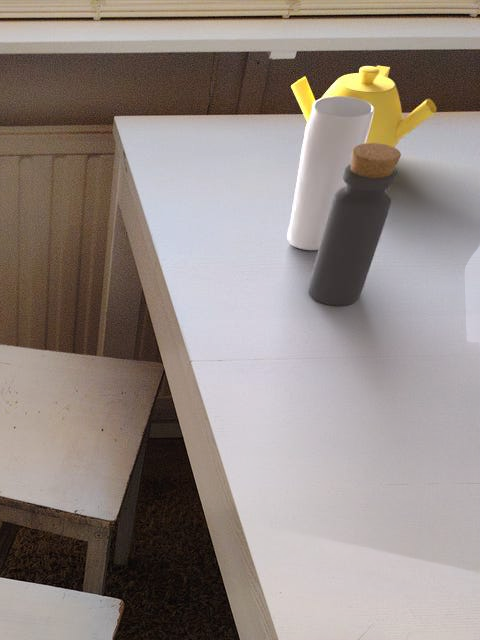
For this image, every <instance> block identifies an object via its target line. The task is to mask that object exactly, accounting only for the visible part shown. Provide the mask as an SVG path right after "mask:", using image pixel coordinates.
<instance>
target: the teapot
mask: <svg viewBox="0 0 480 640" xmlns="http://www.w3.org/2000/svg"><path fill="white" fill-rule="evenodd" d="M390 69H391V66H384V65H376V66H373V65H372V66H371V65H365V66H361V67H360V68H359V71H358V72H355V73H348V74H344V75H342V76H340V77H338V78H337V79H336V80H335V82H333V84H332V85H330V87H329V88H328V89H327V90H326V92H325V93H324V94H323V95H322V97H321V98H325V97H332V96H346V97H353V98H358V99H362V100H364V101H367V102H369V103H370V104H371V105H373V107H374V114H373V118H372V122H371V126H370V130H369V134H368V137H367V141H366V143H379V144H385V145H389V146H392V147H394V148H396V146H397V145H398V143H399V141H400V140H401V139H403V138H404V137H405V136H407V135H408V134H409V133H411V132H412V131H413V130H415V129H416V128H417V127H418V126H420V125H421V124H423V123H424V122H426V121H427V120H428V119H430V117H432V116H433V115H434V114H436V113H437V106H436V104H435V103H434V101H433V100H432V99H430V98H426V99H425V100H424V101H423V102H422V103H421V104H419V105H418V106H417V107H416V108H415V109H413V110H412V111H411V112H410V113H408V114H407V115H406V116H405V117H403V110H402V104H401V99H400V95H399V92H398V88H397V86H396V83H395V82H394V80H392V79H391V78H389V73H390ZM290 87H291V89H292V91H293V94H294V96H295V98H296V101H297V102H298V105H299V107H300V110H301V112H302V113H303V116H304V119H305V120H306V126H305V129H304V133H305V132H306V128H307V124H308V120H309V117H310V113H311V110H312V106H313V104H314V102H316V101H317V100H316V99H315V96H314V94H313V92H312V89H311V87H310V84H309V82H308V79H307V76H303V77H301V78H300V79H298V80H297V81H296V82H294V83H293V84H291V86H290Z"/></svg>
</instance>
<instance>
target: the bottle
mask: <svg viewBox="0 0 480 640" xmlns="http://www.w3.org/2000/svg"><path fill="white" fill-rule="evenodd" d="M401 156H402V153H401V151H400V150H399V149H398V148H396V147H392V146H389V145H385V144H379V143H366V144H360V145H358V146H356V147H354V148H353V150H352V159H351V164H349V165H348V166H347V167H346V168H345V171H344V174H343V180H344V181H345V183H347V185H346V186H345V187H343V188H341V189H339V190H338V191H337V192H336V193H335V195H334V198H333V201H332V204H331V208H330V211H329V215H328V218H327V222H326V225H325V229H324V232H323V236H322V240H321V243H320V247H319V250H317V255H316V258H315V261H314V266H313V268H312V272H311V276H310V280H309V284H308V290H307V292H308V294H309V295H310V297H311V298H313V299H314V300H315V301H317V302H319V303H321V304H324V305H329V306H336V307H337V306H339V307H340V306H348V305H352V304H354V303H357V301H358V300H359V299H360V297H361V295H362V292H363V289H364V287H365V283H366V280H367V276H368V275H369V273H370V268H371V266H372V262H373V261H374V256H375V253H376V250H377V247H378V244H379V241H380V238H381V235H382V233H383V228H384V227H385V223H386V220H387V217H388V214H389V211H390V208H391V205H392V198H391V196H390V195H389V193H388V192H387V189H390V188H391V187H392V186H393V185H394V184H395V181H396V178H397V171H396V170H395V168H396V166H397V164H398V163H399V160H400V159H401Z"/></svg>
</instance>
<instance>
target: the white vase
mask: <svg viewBox="0 0 480 640" xmlns="http://www.w3.org/2000/svg"><path fill="white" fill-rule="evenodd" d="M315 101H316V102H314V104H313V106H312V110H311V113H310V117H309V120H308V124H307V123H306V125H307V128H306V127H305V129H306V132H305V131H304V137H303V140H302V141H303V142H302V147H301V153H300V159H299V167H298V172H297V179H296V184H295V192H294V196H293V197H294V198H293V203H292V209H291V216H290V220H289V221H290V222H289V225H288V228H287V234H286V239H287V241H288V243H289V244H290V245H291V246H292V247H294V248H297V249H300V250H305V251H319V247H320V243H321V240H322V236H323V232H324V229H325V225H326V222H327V218H328V215H329V211H330V208H331V204H332V201H333V198H334V195H335V193H336V192H337V191H338V190H339V189H341V188H343V187H345V186H346V185H347V183H345V181H344V180H343V174H344V171H345V168H346V167H347V166H348V165H349V164H351V159H352V150H353V148H354V147H356V146H358V145H360V144H366V141H367V137H368V134H369V130H370V126H371V122H372V118H373V114H374V107H373V105H371V104H370V103H369V102H367V101H364V100H362V99H358V98H353V97H346V96H332V97H325V98H322V97H321V98H319V99H317V100H315Z"/></svg>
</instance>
